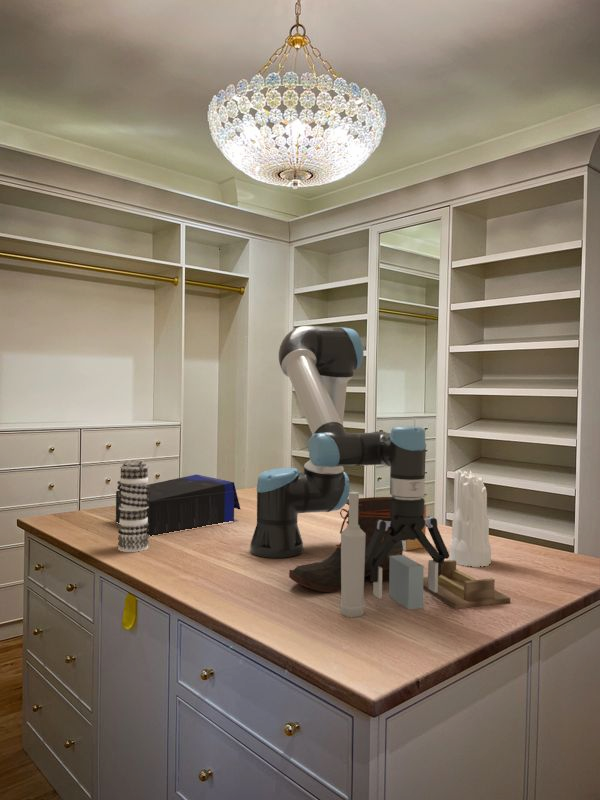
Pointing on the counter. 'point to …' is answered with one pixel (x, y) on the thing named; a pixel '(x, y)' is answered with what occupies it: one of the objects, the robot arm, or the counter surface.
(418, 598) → the light gray rectangular block
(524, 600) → the counter surface
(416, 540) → the small box
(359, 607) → the bottle
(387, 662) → the counter surface
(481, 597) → the track sill
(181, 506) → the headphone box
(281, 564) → the counter surface
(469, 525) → the decorative vase
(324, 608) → the counter surface
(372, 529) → the ankle boot
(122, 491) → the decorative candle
